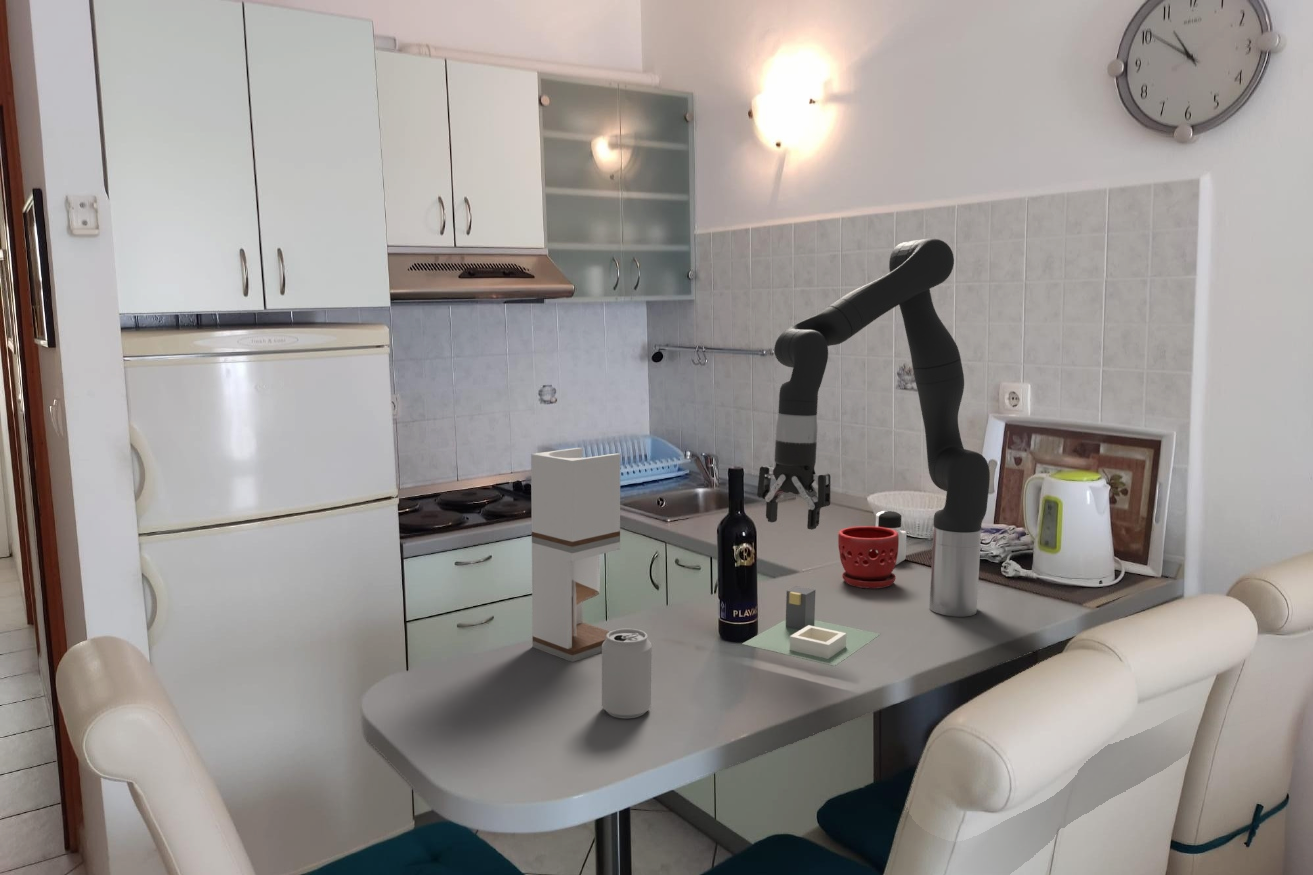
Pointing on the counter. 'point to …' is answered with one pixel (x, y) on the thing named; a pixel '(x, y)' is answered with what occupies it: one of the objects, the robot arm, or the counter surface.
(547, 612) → the white tall box
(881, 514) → the medicine bottle
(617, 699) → the can
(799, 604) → the plug
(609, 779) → the counter surface
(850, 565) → the plant pot
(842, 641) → the board
